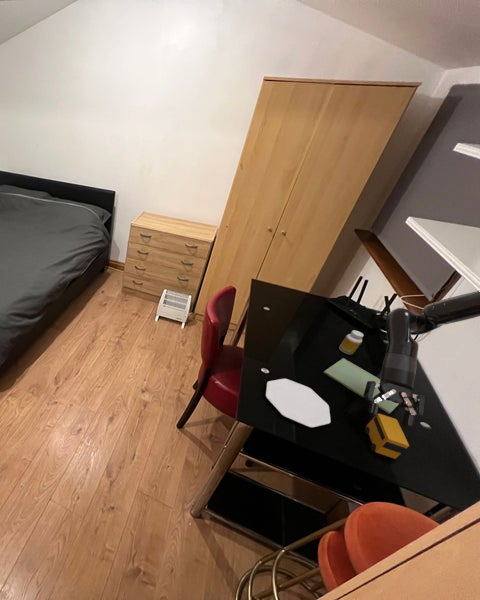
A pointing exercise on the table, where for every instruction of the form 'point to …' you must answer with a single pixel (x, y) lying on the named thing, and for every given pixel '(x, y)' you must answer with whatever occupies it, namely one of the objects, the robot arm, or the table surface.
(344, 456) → the table surface
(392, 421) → the toy bus
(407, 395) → the robot arm
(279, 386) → the plate
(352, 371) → the mat
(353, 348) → the supplement bottle
